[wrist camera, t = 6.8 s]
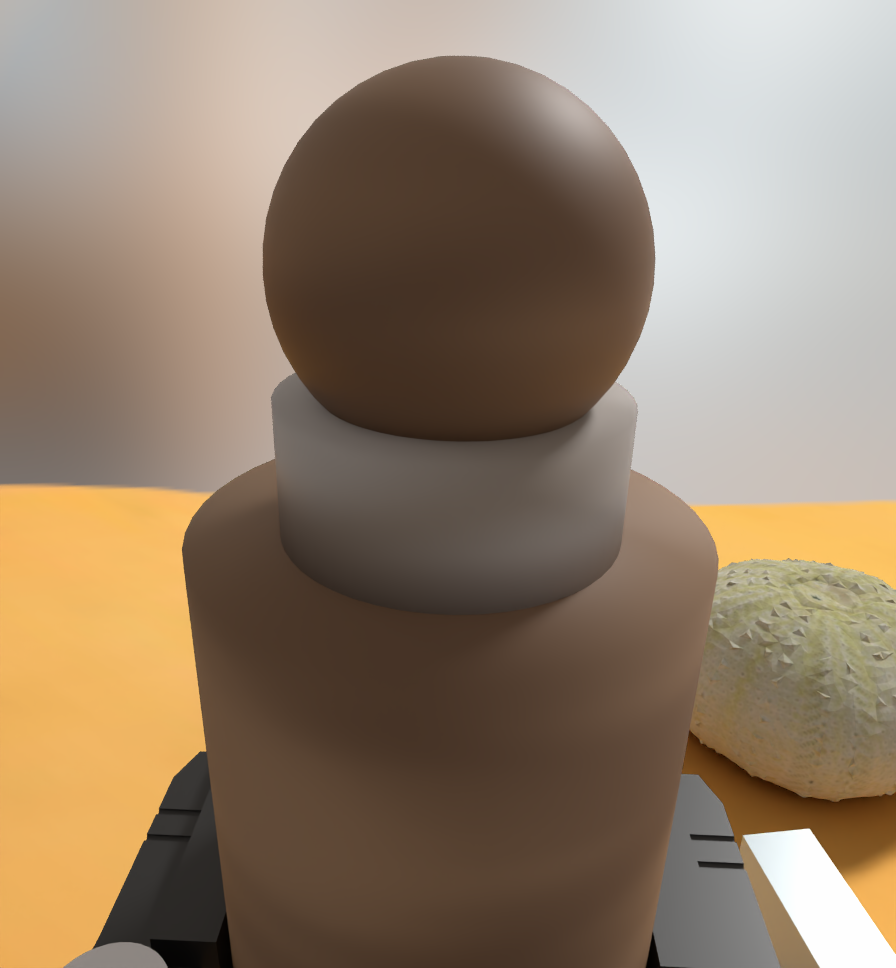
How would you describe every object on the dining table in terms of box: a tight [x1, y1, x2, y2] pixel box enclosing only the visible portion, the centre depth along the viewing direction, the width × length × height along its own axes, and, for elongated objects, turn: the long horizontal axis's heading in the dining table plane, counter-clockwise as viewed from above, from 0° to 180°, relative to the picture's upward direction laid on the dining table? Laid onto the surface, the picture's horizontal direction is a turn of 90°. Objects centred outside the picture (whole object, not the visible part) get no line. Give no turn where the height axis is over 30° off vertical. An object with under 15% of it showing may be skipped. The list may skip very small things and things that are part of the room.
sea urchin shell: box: [690, 558, 896, 802], centre depth 26 cm, size 9×8×8 cm
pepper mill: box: [182, 56, 718, 968], centre depth 9 cm, size 5×5×18 cm
